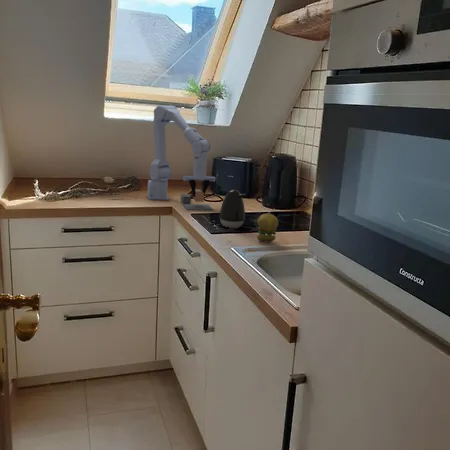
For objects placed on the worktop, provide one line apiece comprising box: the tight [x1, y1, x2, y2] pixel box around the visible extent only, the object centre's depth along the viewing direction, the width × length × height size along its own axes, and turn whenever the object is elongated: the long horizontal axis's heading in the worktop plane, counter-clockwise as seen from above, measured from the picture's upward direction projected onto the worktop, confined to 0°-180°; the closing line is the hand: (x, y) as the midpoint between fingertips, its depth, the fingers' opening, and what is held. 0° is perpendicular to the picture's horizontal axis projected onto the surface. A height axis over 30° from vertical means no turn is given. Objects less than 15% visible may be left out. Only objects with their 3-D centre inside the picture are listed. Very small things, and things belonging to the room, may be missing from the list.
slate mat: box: [182, 203, 214, 211], centre depth 221 cm, size 12×9×1 cm
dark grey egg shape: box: [219, 189, 247, 229], centre depth 192 cm, size 10×10×15 cm
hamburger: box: [256, 211, 279, 243], centre depth 175 cm, size 8×7×12 cm
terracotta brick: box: [192, 189, 205, 203], centre depth 221 cm, size 4×6×4 cm, turn 15°
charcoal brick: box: [180, 193, 192, 205], centre depth 228 cm, size 4×6×4 cm, turn 16°
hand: (198, 196), depth 221 cm, fingers closed on terracotta brick, 4 cm apart
